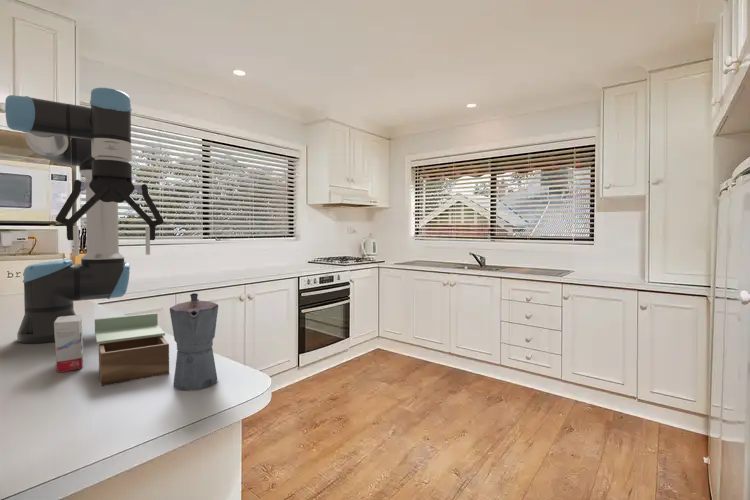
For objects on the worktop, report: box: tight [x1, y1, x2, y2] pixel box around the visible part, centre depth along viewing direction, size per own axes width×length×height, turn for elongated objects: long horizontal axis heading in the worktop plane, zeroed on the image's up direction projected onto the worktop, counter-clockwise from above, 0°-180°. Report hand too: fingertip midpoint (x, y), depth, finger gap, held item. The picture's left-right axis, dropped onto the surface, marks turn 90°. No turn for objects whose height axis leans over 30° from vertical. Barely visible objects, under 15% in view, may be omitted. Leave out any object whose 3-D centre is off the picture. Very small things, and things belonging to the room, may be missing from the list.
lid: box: [94, 312, 166, 345], centre depth 99 cm, size 12×14×4 cm
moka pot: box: [169, 292, 219, 392], centre depth 87 cm, size 10×15×20 cm, turn 28°
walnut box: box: [98, 336, 170, 387], centre depth 93 cm, size 11×13×7 cm
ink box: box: [54, 314, 84, 374], centre depth 96 cm, size 9×5×12 cm, turn 33°
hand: (113, 255), depth 91 cm, fingers open, 13 cm apart
